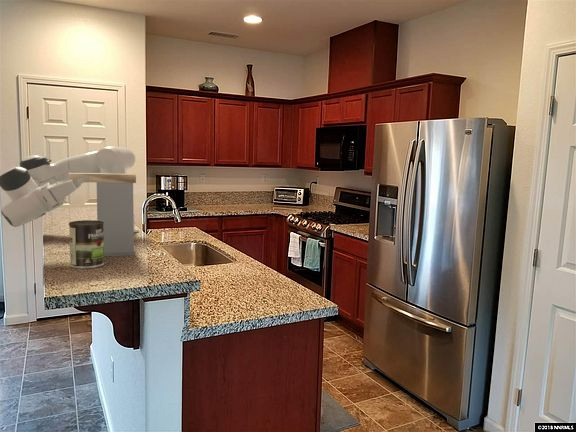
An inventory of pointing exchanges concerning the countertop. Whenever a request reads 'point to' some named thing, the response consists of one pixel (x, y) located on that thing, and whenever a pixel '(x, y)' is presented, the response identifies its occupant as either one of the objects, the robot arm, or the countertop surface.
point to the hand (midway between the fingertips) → (88, 176)
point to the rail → (104, 177)
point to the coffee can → (86, 244)
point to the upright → (116, 217)
